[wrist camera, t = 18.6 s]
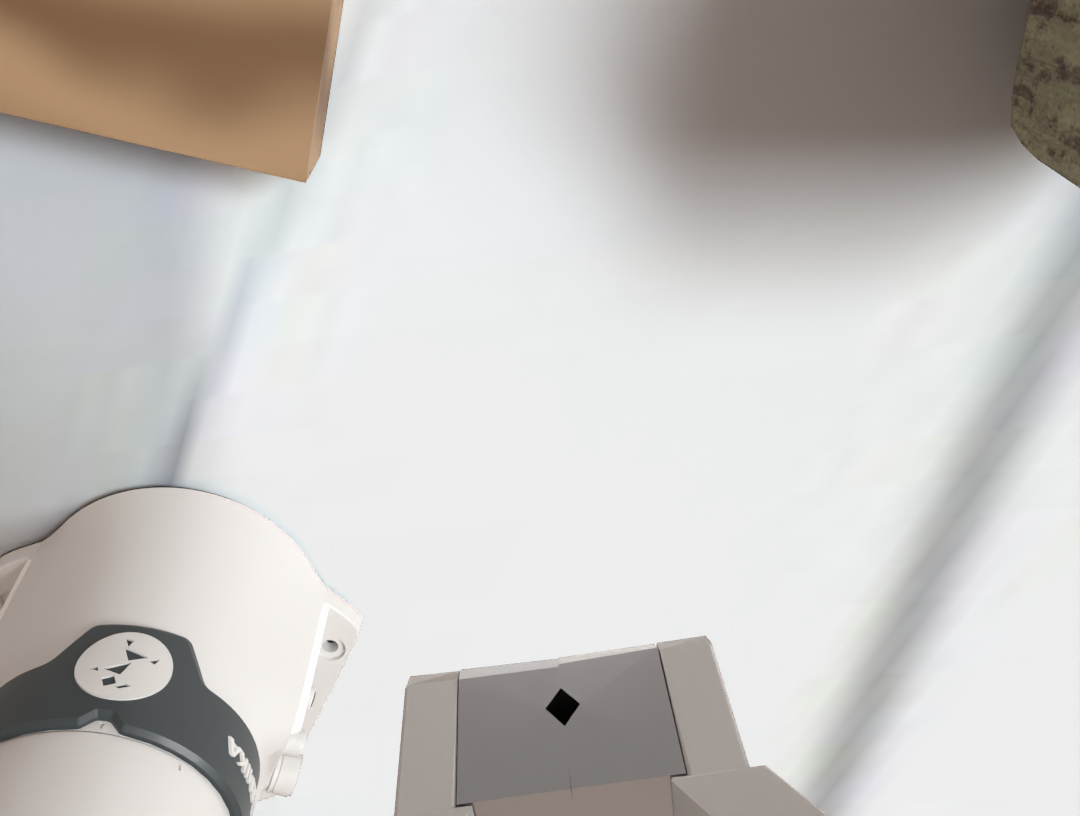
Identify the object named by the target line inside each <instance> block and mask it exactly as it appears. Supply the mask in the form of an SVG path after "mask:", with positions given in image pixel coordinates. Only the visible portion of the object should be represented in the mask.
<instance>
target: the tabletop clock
mask: <svg viewBox="0 0 1080 816" xmlns="http://www.w3.org/2000/svg"><path fill="white" fill-rule="evenodd" d="M1011 126H1012V128H1013V130H1014V131H1015V133H1016V135H1017V136H1018V138H1019V140H1020V141H1021V143H1022V144H1023V145H1024V146H1025V147H1026V149H1027V150H1028V151H1029V152H1030V153H1031V154H1032V155H1034V156H1035V157H1036V158H1037V159H1038V160H1039V161H1041V162H1042V163H1044V164H1045V165H1047V166H1048V167H1050V168H1051V169H1053V170H1054V171H1055V172H1057V173H1058V174H1060V175H1061V176H1063V177H1064V178H1066V179H1067V180H1069V181H1070V182H1072V183H1073V184H1075V185H1076V186H1078V187H1079V188H1080V0H1031V3H1030V7H1029V12H1028V17H1027V21H1026V26H1025V31H1024V35H1023V40H1022V45H1021V50H1020V54H1019V59H1018V64H1017V69H1016V74H1015V80H1014V87H1013V96H1012V122H1011Z"/></svg>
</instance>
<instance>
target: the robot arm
mask: <svg viewBox="0 0 1080 816" xmlns="http://www.w3.org/2000/svg"><path fill="white" fill-rule="evenodd" d="M361 627H362V618H361V616H360V614H359V613H358V612H357V610H356V609H355V608H354V607H353V606H351V605H350V604H349V603H348V602H346V601H345V600H344V599H342V598H341V597H340V596H338V595H337V594H336V593H334V592H333V591H331V590H330V589H328V588H327V587H326V586H325V585H324V584H323V582H322V581H321V580H320V578H319V577H318V575H317V574H316V572H315V570H314V569H313V567H312V565H311V564H310V562H309V560H308V559H307V557H306V556H305V554H304V553H303V551H302V550H301V549H300V548H299V546H298V545H297V544H296V543H295V542H294V541H293V540H292V539H291V537H290V536H288V535H287V534H286V533H285V532H284V531H283V530H282V529H281V528H279V527H278V526H277V525H276V524H274V523H273V522H272V521H270V520H269V519H267V518H266V517H264V516H263V515H261V514H259V513H258V512H256V511H254V510H252V509H250V508H248V507H246V506H244V505H242V504H240V503H237V502H235V501H232V500H230V499H227V498H224V497H221V496H218V495H214V494H210V493H206V492H202V491H197V490H190V489H182V488H165V487H160V488H144V489H136V490H130V491H126V492H121V493H117V494H114V495H111V496H108V497H105V498H103V499H100V500H98V501H96V502H94V503H92V504H90V505H88V506H86V507H85V508H83V509H81V510H80V511H78V512H77V513H75V514H74V515H73V516H72V517H70V518H69V519H68V520H67V521H66V522H65V523H64V524H63V525H62V526H61V527H60V528H59V529H58V530H57V531H56V532H55V533H53V534H52V535H51V536H50V537H48V538H47V539H45V540H44V541H42V542H39V543H36V544H33V545H29V546H26V547H23V548H20V549H18V550H15V551H12V552H10V553H8V554H6V555H4V556H3V557H1V558H0V816H252V815H253V811H254V808H255V803H256V802H257V801H261V800H264V799H268V798H271V797H274V796H276V795H280V796H284V797H287V796H291V795H292V793H293V790H294V788H295V785H296V783H297V779H298V776H299V773H300V769H301V765H302V760H303V754H301V752H302V750H303V747H304V744H305V742H306V740H307V738H308V736H309V735H310V733H311V731H312V729H313V727H314V725H315V723H316V721H317V719H318V717H319V715H320V713H321V711H322V709H323V707H324V705H325V703H326V701H327V699H328V697H329V695H330V693H331V691H332V689H333V687H334V685H335V683H336V681H337V679H338V677H339V675H340V673H341V671H342V669H343V667H344V666H345V664H346V662H347V660H348V658H349V656H350V654H351V652H352V650H353V648H354V646H355V644H356V642H357V640H358V637H359V634H360V630H361ZM328 640H332V641H335V643H330V642H327V641H328ZM394 816H827V815H826V814H825V813H823V812H822V811H821V810H820V809H819V808H817V807H816V806H815V805H814V804H812V803H811V802H810V801H809V800H807V799H806V798H805V797H804V796H802V795H801V794H800V793H799V792H798V791H796V790H795V789H794V788H793V787H791V786H790V785H789V784H788V783H786V782H785V781H784V780H783V779H782V778H780V777H779V776H778V775H777V774H775V773H774V772H773V771H772V770H770V769H769V768H768V767H767V766H756V767H749V763H748V760H747V757H746V754H745V750H744V747H743V744H742V741H741V737H740V734H739V731H738V728H737V724H736V721H735V718H734V715H733V711H732V708H731V705H730V702H729V698H728V695H727V692H726V689H725V685H724V682H723V679H722V676H721V672H720V669H719V666H718V662H717V659H716V656H715V653H714V649H713V646H712V643H711V641H710V640H709V639H708V638H707V637H706V636H700V637H694V638H687V639H681V640H674V641H667V642H661V643H657V645H655V644H650V645H643V646H636V647H629V648H623V649H616V650H609V651H602V652H595V653H589V654H582V655H575V656H568V657H562V658H558V659H550V660H542V661H533V662H524V663H515V664H506V665H498V666H489V667H480V668H471V669H462V670H461V671H456V672H447V673H438V674H428V675H419V676H410V679H409V681H408V684H407V686H406V689H405V698H404V710H403V721H402V733H401V744H400V756H399V767H398V779H397V790H396V801H395V813H394Z"/></svg>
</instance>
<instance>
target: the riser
mask: <svg viewBox="0 0 1080 816" xmlns="http://www.w3.org/2000/svg"><path fill="white" fill-rule="evenodd" d="M343 1H344V0H0V112H1V113H5V114H10V115H14V116H18V117H23V118H27V119H31V120H36V121H40V122H44V123H49V124H53V125H57V126H62V127H66V128H70V129H75V130H79V131H83V132H88V133H92V134H96V135H101V136H105V137H109V138H114V139H118V140H122V141H127V142H131V143H135V144H140V145H144V146H148V147H153V148H157V149H161V150H166V151H170V152H174V153H179V154H183V155H187V156H192V157H196V158H200V159H205V160H209V161H213V162H218V163H222V164H226V165H231V166H235V167H239V168H244V169H248V170H253V171H257V172H261V173H266V174H270V175H274V176H279V177H283V178H287V179H292V180H296V181H300V182H305V183H306V181H307V179H308V177H309V175H310V174H311V172H312V170H313V168H314V166H315V164H316V162H317V161H318V159H319V157H320V153H321V147H322V140H323V134H324V127H325V120H326V114H327V107H328V100H329V94H330V87H331V81H332V74H333V67H334V61H335V54H336V47H337V41H338V34H339V28H340V21H341V14H342V8H343Z"/></svg>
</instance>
